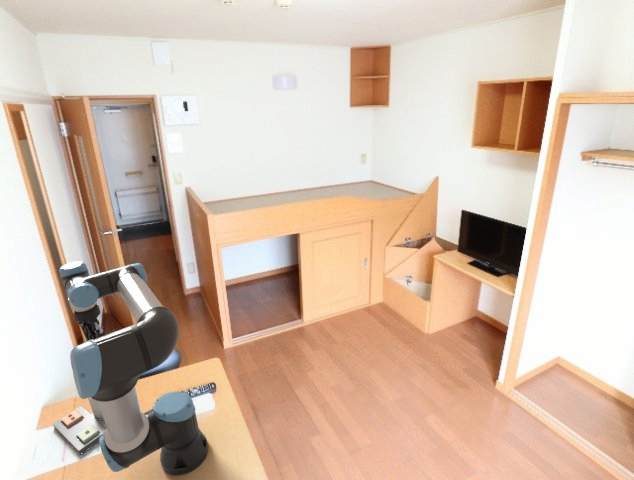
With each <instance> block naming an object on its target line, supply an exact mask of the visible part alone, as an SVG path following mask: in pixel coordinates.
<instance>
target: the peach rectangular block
mask: <svg viewBox="0 0 634 480" xmlns="http://www.w3.org/2000/svg"><path fill="white" fill-rule="evenodd" d="M60 419H61V420H62V422H63V425H64V426H65V427H66V428H67V429H68V428H69V427H71V426H72V425H74V424H75V423H77V422H78V421H80V420H81V419H83V417H82V415H81V414H80V413H79V412H77V411H76V409H74V410H73V411H71V412H69V413H68V414H66V415H65V416H63V417H62V418H60Z"/></svg>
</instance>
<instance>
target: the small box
mask: <svg viewBox="0 0 634 480" xmlns="http://www.w3.org/2000/svg"><path fill="white" fill-rule="evenodd" d="M87 400H88V402H89V405H90V408H91V411H92V413H93V417H94V418H95V419H97V420H98V421H103V422H105V420H104V417H103V415H102V412H101V409H100V406H99V403H98V401H95V400H93V399H92V398H87Z"/></svg>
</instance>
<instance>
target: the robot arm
mask: <svg viewBox="0 0 634 480" xmlns="http://www.w3.org/2000/svg"><path fill="white" fill-rule="evenodd" d="M58 270H59V275H60V278H61V281H62V284H63V287H64V290H65V292H66V295H67V300H68V302H69V306H70V309H71V310H72V313H73V317H74V320H75V321H76V322H77V324H78V325H79V326H80V328H81V331H82V333H83V335H84V337H85V340H86V341H85V342H83V343H81V344H79V345H76V346H75V347H73V348H72V349H71V351H70V356H69V357H70V365H71V369H72V375H73V380H74V383H75V384H74V385H75V387H76V391H77V394H78V396H79V398H80V399H82V400H86V399H88V398H92V399H93V400H95V401H98V403H99V406H100V409H101V412H102V415H103V417H104V420H105V421H104V422H105V426H106V430H105V432H104V434H102V435H101V436H100V438H99V442H98V443H99V447H100V451H101V453H102V455H103V458H104V460H105V462H106V465H107V467H109V469H110V470H111V471H112V472H115V473H118V472H121V471H122V470H124V469H128V468H130V466H132V465H133V464H136V463H137V462H140V461H141V460H143V459H144V458H146V457H147V456H149V455H151V454H153V453H154V452H157V451H158V450H161V451H160V455H159V459H160V465H161V468H162V469H163V471H164V472H165V473H167V474H169V475H172V476H181V475H183V476H184V475H185V474H189V473H191V472H192V471H193V472H194V470H196V469H197V468H198V467H200V465H201V464H203V462H204V461H205V459H206V458H207V455H208V452H209V443H208V440H207V437H206V435H205V434H204V432H202V430H201V429H200V427H199V422H198V418H197V415H196V414H197V413H196V407H195V404H194V401H193V399H192V397H191V396H190V395H189V394H188V393H186V392H180V391H170V392H167V393H164V394H162V395H161V396H159V397H158V398H157V399H156V401H154V402H153V404H152V409H150V410H148V411H145V412H142V411H141V407H140V403H139V398H138V393H137V389H136V386H137V384H138V381H139V379H140V375H143V374H144V373H148V372H149V371H152V370H154V369H156V368H157V367H159V366H161V365H163V364H164V363H165V362H166V361H167V360H168V358H170V356H171V355H172V354H173V353H174V350H175V349H176V347H177V344H178V340H179V335H180V325H179V321H178V318H177V316H176V314H175V313H174V312H173V311H172V310H171V309H170V308H169V307H166V306H165V305H163V304H162V303H161V302H160V300H159V299H158V298H157V296H156V295H155V294H154V291H152V290H151V288H150V287H149V285H148V284H147V282H148V276H147V272H146V270H145V267H144V265H142V263H140V262H138V263H132V264H127V265H124V266H121V267H118V268H117V267H116V268H115V269H110V270H108V271H103V272H100V273H96V274H92V275H90V272H89V269H88V267H87V264H86V263H85V262H84V261H78V260H77V261H72V262H68V263H66V264H64V265H62V266H61V267H60V268H59V269H58ZM115 294H120V296H121V298H122V300H123V302H124V303H125V305H126V306H127V308H128V310H129V312H130V313H131V315H132V317H133V318H134V320H135V322H136V323H135V324H131V325H129V326H126V327H124V328H121V329H118V330H115V331H113V332H110V333H108V334H106V333H105V331H106V328H105V326H102V327H101V326H100V324H101V323H100V320H99V319H98V317H99V316H100V315H101V309H100V304H99V303H98V299H102V298H105V297H108V296H111V295H115Z"/></svg>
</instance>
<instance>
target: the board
mask: <svg viewBox="0 0 634 480" xmlns="http://www.w3.org/2000/svg"><path fill="white" fill-rule="evenodd" d="M75 410H76V411H77V412H79V413H80V414H81V415H82V417H83V419H81V420H80V421H78V422H77V423H75V424H74V425H72V426H71V427H69V428H68V429H67V428H66V427H65V426H64V425H63V422H62V420H61V419H62V418H60V419H58V420H57V421H55V422H54V423H52V425H53V428H54V429H55V431H57V433H58V434H60V436H62V438H63V439H64V440H65V441H66V442H67V443H68V444H69V445H70V446H71V447H72V448H73V450H75V452H77V453H78V454H79V455H80V454H81V453H82V454H83V452H84V451H85V452H87V451H88V450H89V449H91V448H92V447H94V446H95V445H97V444H98V443H99V438H100V436H101V435H102V434H104V432H105V430H106V428H107V426H106V427H105V426H104V424H103V423H101V422H100V420H97V419H95V417H94V415H92V414H91V413H90V412H89V411H88V410H87V409H86V408H85V407H83V406H82V405H80V406H79V407H77V408H76V409H75ZM91 424H92V425H93V426H94V427H95V428H96V429H97V430H98V432H99V434H98V435H96V436H95V437H94V438H92V439H91V440H89V441H88V442H87V443H85V444H84V445H83V444H82V443H81V442H80V441H79V440H78V437H77V433H79V432H80V431H82V430H83V429H85V428H86V427H88V426H89V425H91ZM94 444H95V445H94ZM91 446H92V447H91ZM90 447H91V448H90ZM88 448H89V449H88ZM87 449H88V450H87ZM86 450H87V451H86ZM85 452H84V453H85ZM82 454H81V455H82Z"/></svg>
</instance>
